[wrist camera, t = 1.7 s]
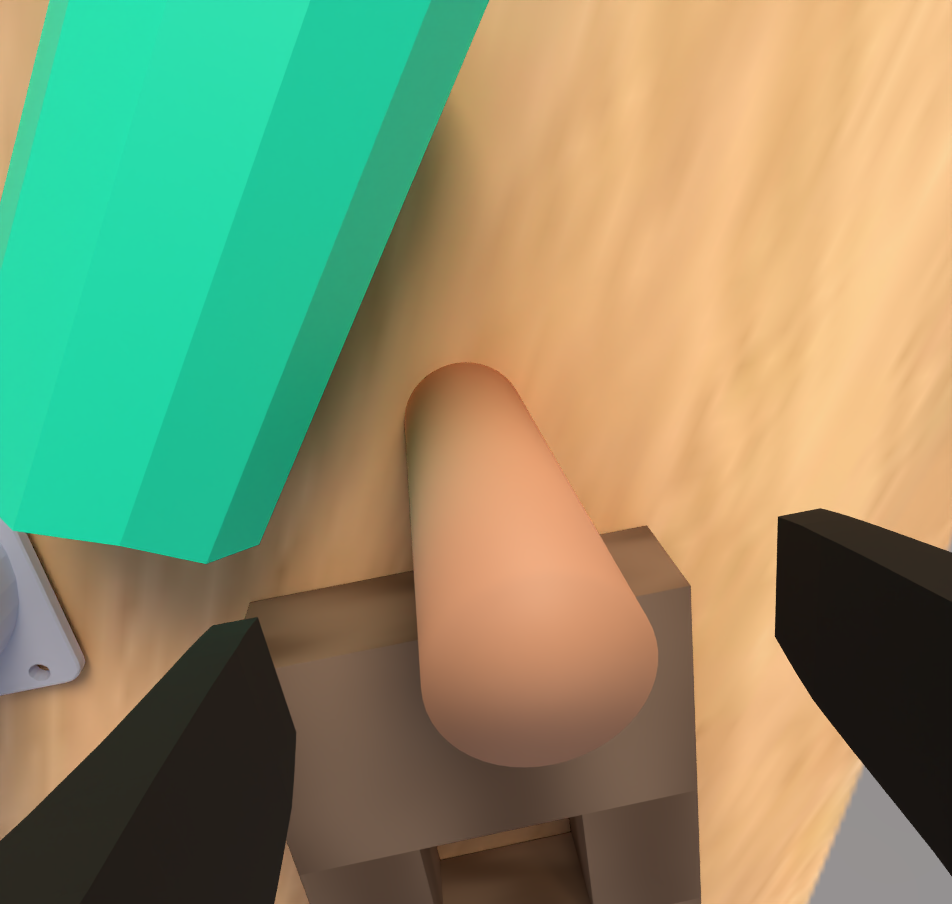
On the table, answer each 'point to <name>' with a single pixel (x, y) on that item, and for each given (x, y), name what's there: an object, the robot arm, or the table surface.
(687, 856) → the hole block
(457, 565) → the peg
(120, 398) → the candle
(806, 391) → the table surface
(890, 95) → the table surface
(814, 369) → the table surface
